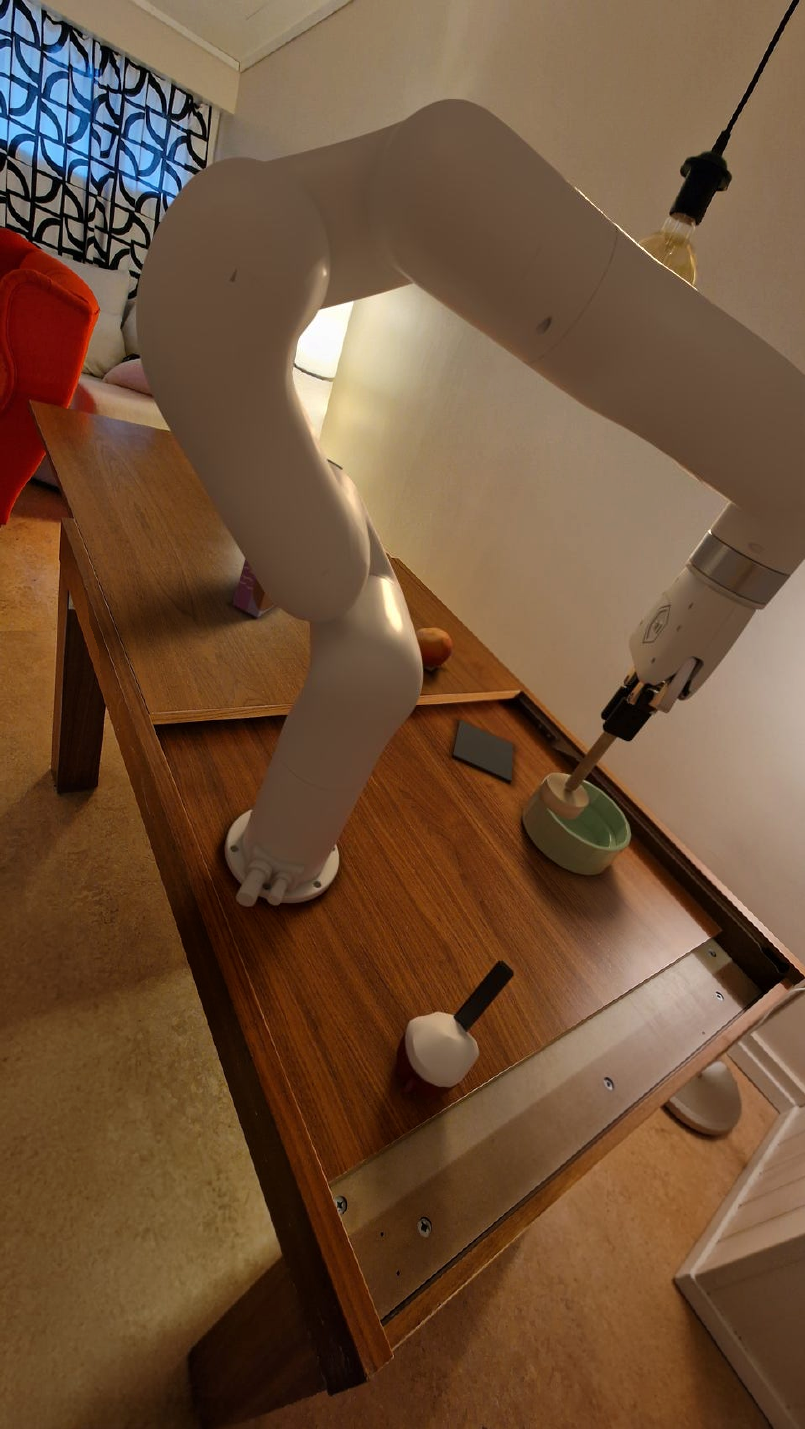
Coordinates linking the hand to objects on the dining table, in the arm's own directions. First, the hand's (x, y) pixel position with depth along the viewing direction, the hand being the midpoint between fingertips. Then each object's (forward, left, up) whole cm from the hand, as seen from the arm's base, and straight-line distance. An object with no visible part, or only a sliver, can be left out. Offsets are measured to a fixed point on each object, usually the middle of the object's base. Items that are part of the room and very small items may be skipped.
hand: (614, 728), depth 63 cm
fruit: (+46, +18, -27) cm, 56 cm away
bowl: (+15, -10, -27) cm, 32 cm away
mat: (+27, +4, -27) cm, 38 cm away
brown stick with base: (0, 0, -11) cm, 11 cm away
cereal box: (+44, +48, -27) cm, 70 cm away
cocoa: (-25, +6, -27) cm, 37 cm away
